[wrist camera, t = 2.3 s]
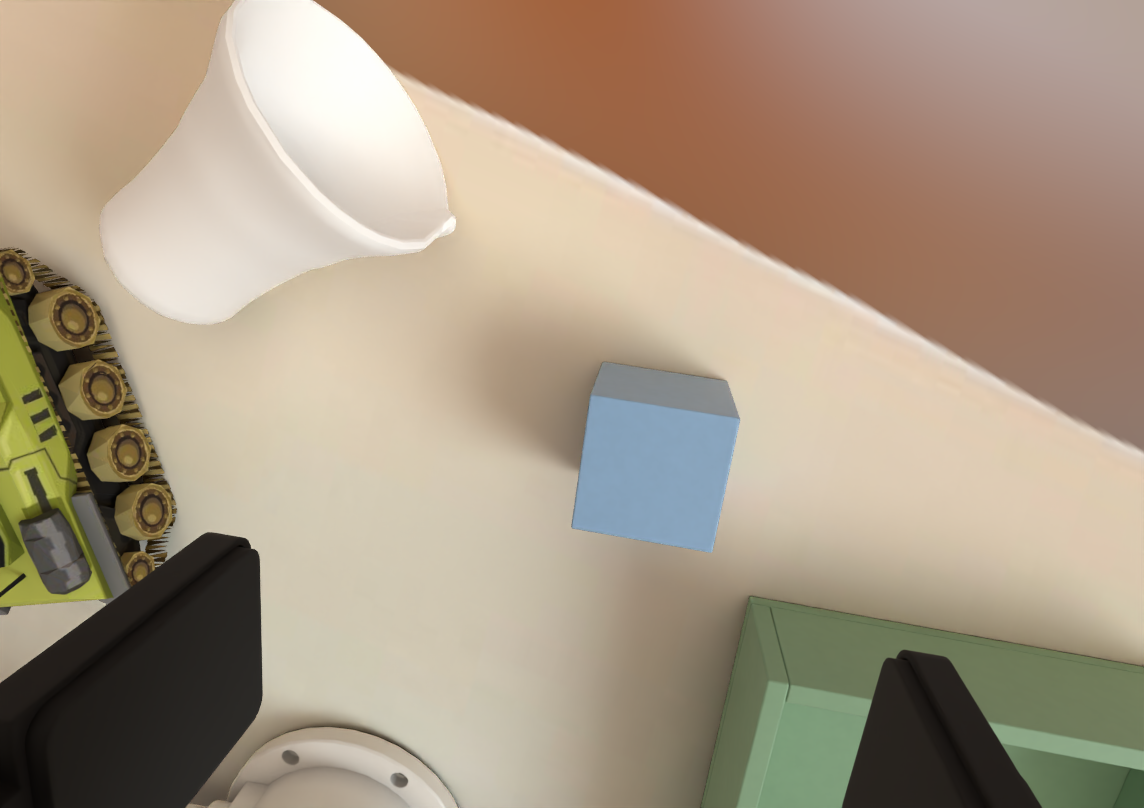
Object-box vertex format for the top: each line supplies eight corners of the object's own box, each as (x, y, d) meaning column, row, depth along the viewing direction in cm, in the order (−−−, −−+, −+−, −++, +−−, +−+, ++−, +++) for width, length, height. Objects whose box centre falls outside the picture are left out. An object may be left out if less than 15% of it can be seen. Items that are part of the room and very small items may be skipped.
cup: (234, 416, 26) (434, 305, 22) (-23, 226, 21) (174, 31, 17) (312, 278, 33) (480, 171, 28) (130, 106, 27) (301, -58, 23)
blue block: (586, 475, 30) (570, 528, 25) (602, 361, 28) (590, 394, 24) (704, 495, 29) (712, 553, 25) (727, 380, 28) (740, 418, 23)
